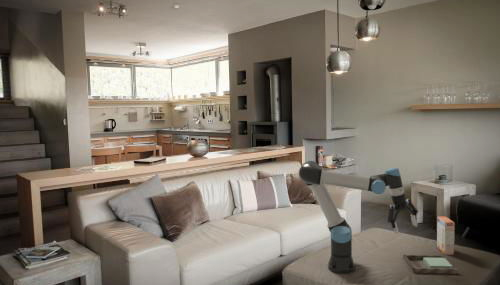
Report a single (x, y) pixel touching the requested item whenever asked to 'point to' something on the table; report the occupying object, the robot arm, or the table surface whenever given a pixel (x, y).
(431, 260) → the cover plate
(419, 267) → the slide box
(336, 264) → the robot arm
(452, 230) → the cracker box
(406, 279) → the table surface
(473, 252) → the table surface
